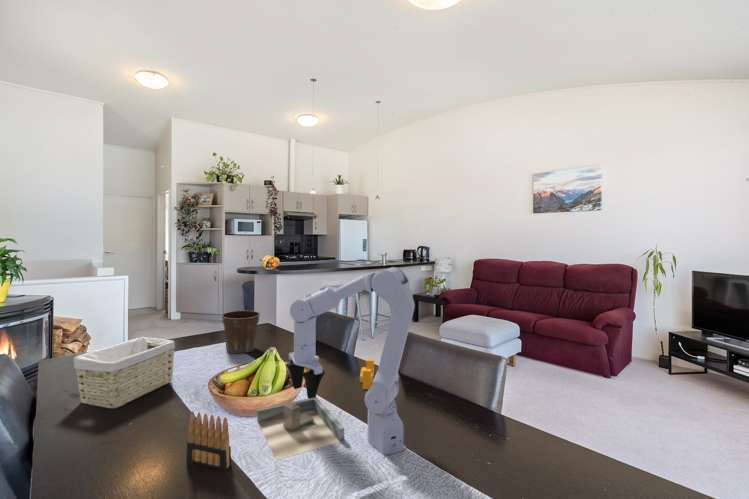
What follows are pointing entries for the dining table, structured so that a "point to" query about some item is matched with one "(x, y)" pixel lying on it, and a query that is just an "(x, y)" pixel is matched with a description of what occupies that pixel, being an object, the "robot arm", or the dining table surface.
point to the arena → (303, 439)
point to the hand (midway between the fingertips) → (304, 392)
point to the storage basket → (124, 371)
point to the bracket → (295, 417)
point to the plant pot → (240, 330)
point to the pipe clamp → (367, 374)
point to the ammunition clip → (208, 442)
